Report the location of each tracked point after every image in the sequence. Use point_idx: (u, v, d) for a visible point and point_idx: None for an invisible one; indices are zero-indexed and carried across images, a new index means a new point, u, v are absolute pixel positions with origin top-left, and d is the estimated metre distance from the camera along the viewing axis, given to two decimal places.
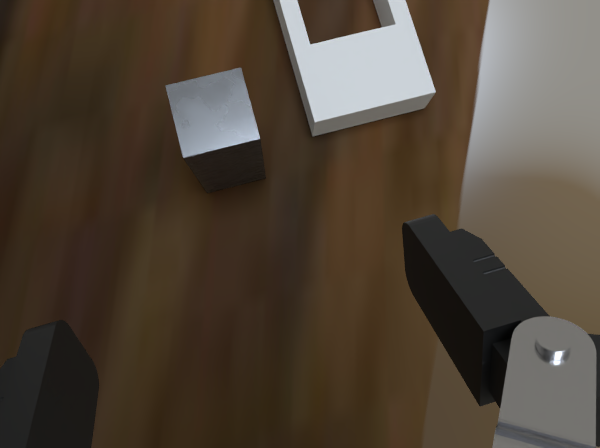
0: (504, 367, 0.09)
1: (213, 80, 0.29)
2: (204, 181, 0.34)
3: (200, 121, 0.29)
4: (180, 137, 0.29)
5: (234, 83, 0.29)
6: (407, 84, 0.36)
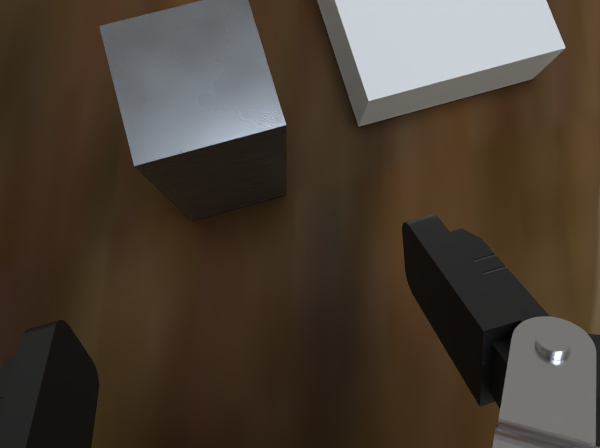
0: (504, 367, 0.09)
1: (193, 15, 0.15)
2: (184, 204, 0.20)
3: (168, 93, 0.15)
4: (128, 124, 0.15)
5: (233, 19, 0.15)
6: (518, 36, 0.22)
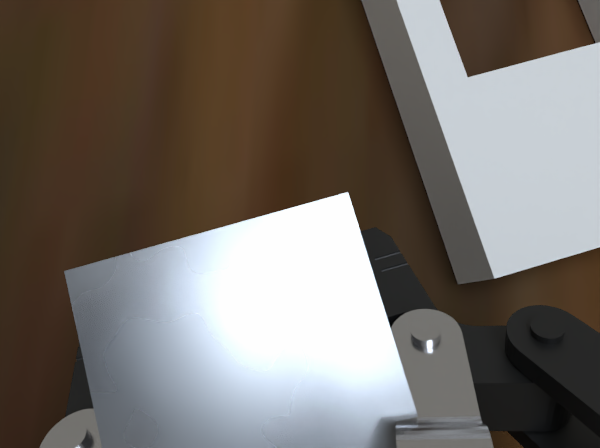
0: None
1: (248, 248, 0.08)
2: None
3: (202, 416, 0.07)
4: None
5: (327, 255, 0.08)
6: None
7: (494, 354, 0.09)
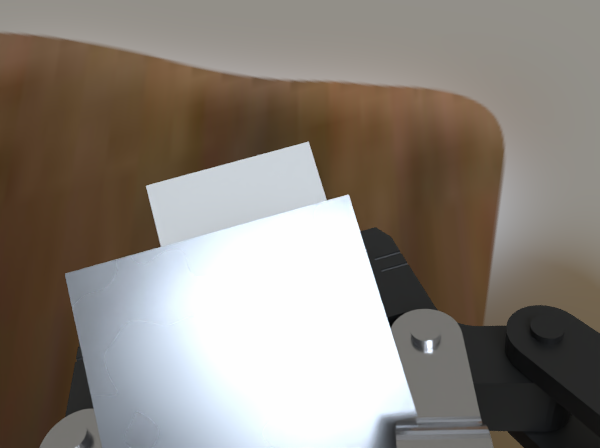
0: None
1: (249, 250, 0.08)
2: None
3: (202, 419, 0.07)
4: None
5: (327, 258, 0.08)
6: None
7: (494, 354, 0.09)
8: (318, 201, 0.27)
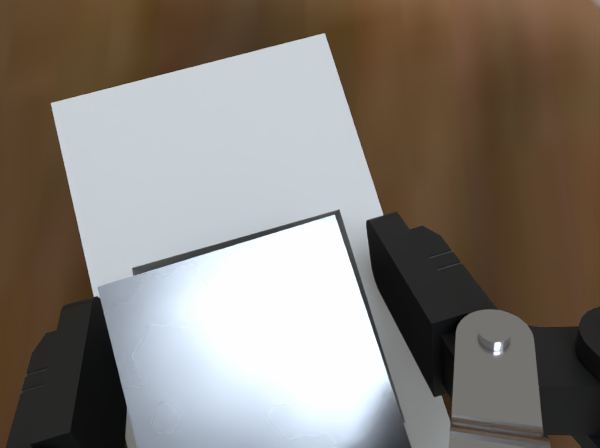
0: (451, 358, 0.09)
1: (251, 263, 0.09)
2: None
3: (216, 406, 0.09)
4: None
5: (318, 268, 0.09)
6: None
7: (564, 356, 0.08)
8: (341, 130, 0.16)
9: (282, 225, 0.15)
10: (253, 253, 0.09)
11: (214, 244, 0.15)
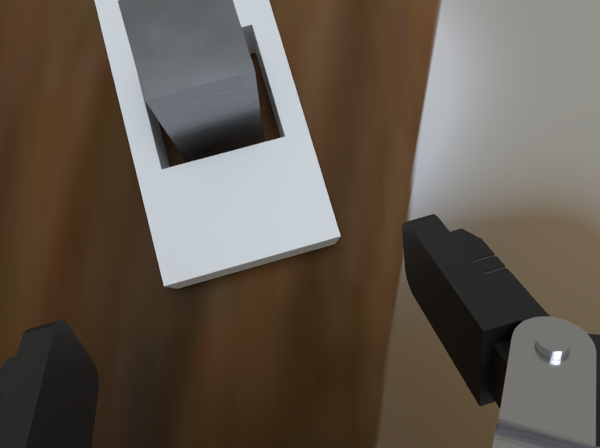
0: (504, 367, 0.09)
1: None
2: (182, 144, 0.25)
3: (168, 48, 0.20)
4: (140, 71, 0.20)
5: None
6: (300, 225, 0.25)
7: None
8: None
9: None
10: None
11: None
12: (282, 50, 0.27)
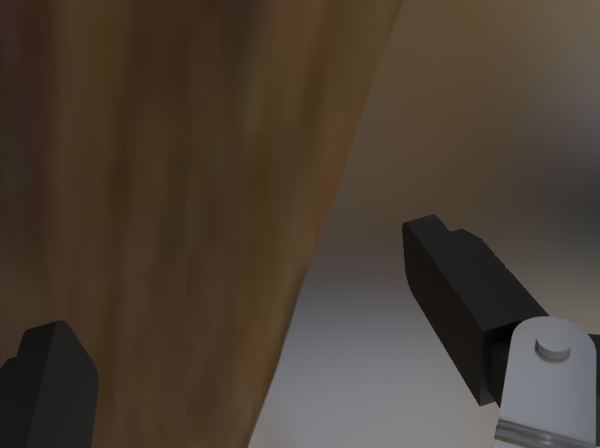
0: (504, 367, 0.09)
1: None
2: None
3: None
4: None
5: None
6: None
7: None
8: None
9: None
10: None
11: None
12: None
